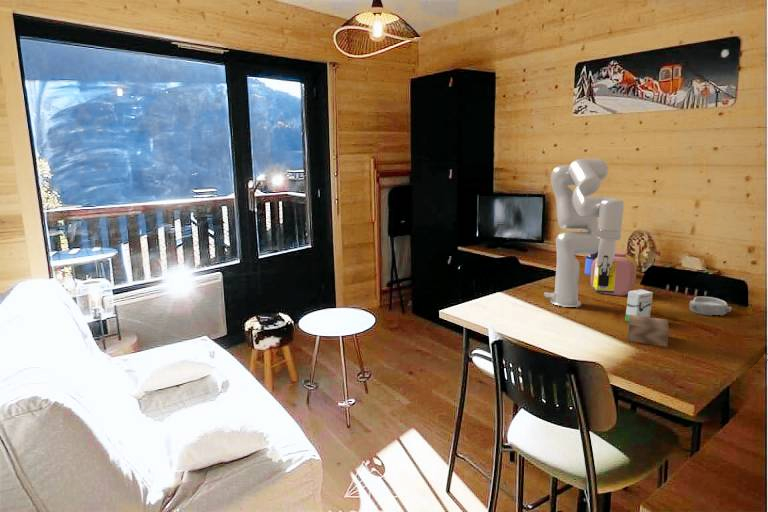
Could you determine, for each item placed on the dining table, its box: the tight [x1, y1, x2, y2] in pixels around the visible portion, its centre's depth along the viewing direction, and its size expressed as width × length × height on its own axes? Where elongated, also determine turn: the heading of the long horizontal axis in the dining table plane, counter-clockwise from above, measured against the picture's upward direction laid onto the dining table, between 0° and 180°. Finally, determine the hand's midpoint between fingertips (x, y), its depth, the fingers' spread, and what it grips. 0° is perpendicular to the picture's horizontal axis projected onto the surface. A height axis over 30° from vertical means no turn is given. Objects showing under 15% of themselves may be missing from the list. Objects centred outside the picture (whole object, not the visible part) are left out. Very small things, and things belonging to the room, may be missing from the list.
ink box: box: [624, 289, 654, 323], centre depth 188 cm, size 9×5×12 cm, turn 117°
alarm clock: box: [590, 251, 638, 297], centre depth 228 cm, size 18×11×19 cm, turn 58°
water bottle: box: [584, 239, 600, 277], centre depth 266 cm, size 9×9×25 cm
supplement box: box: [592, 259, 617, 293], centre depth 174 cm, size 6×6×11 cm
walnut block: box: [626, 315, 670, 348], centre depth 170 cm, size 12×12×6 cm
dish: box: [688, 296, 733, 317], centre depth 201 cm, size 14×14×5 cm
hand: (603, 282), depth 175 cm, fingers closed on supplement box, 7 cm apart
